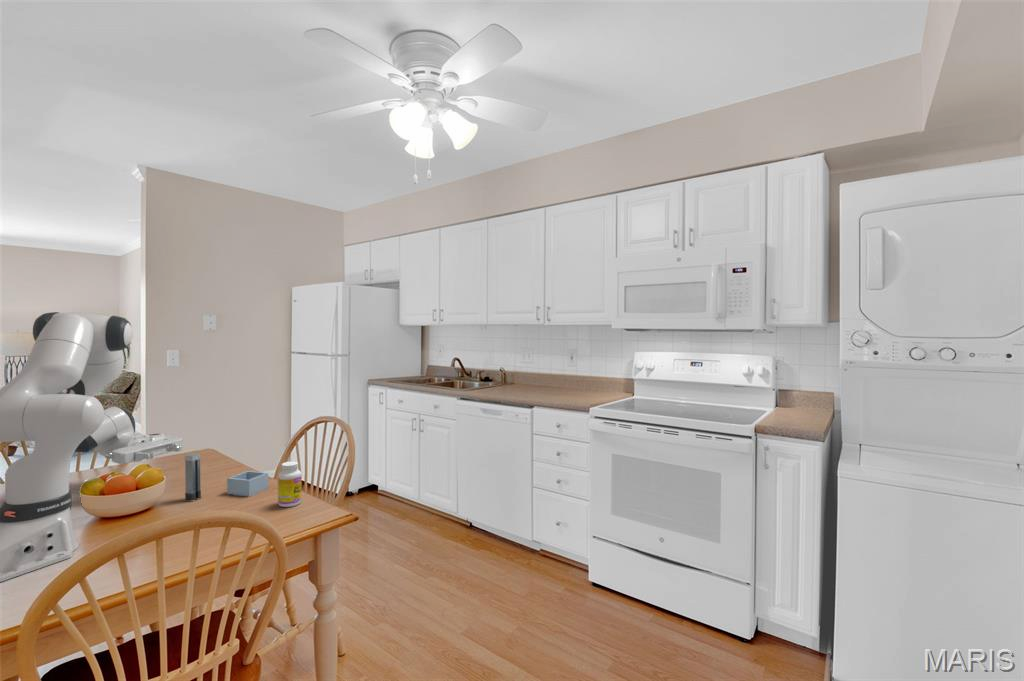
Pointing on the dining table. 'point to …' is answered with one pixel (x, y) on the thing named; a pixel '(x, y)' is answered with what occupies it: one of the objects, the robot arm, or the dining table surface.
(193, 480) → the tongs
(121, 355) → the robot arm
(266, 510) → the dining table surface
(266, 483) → the blue-gray square tray
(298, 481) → the supplement bottle
